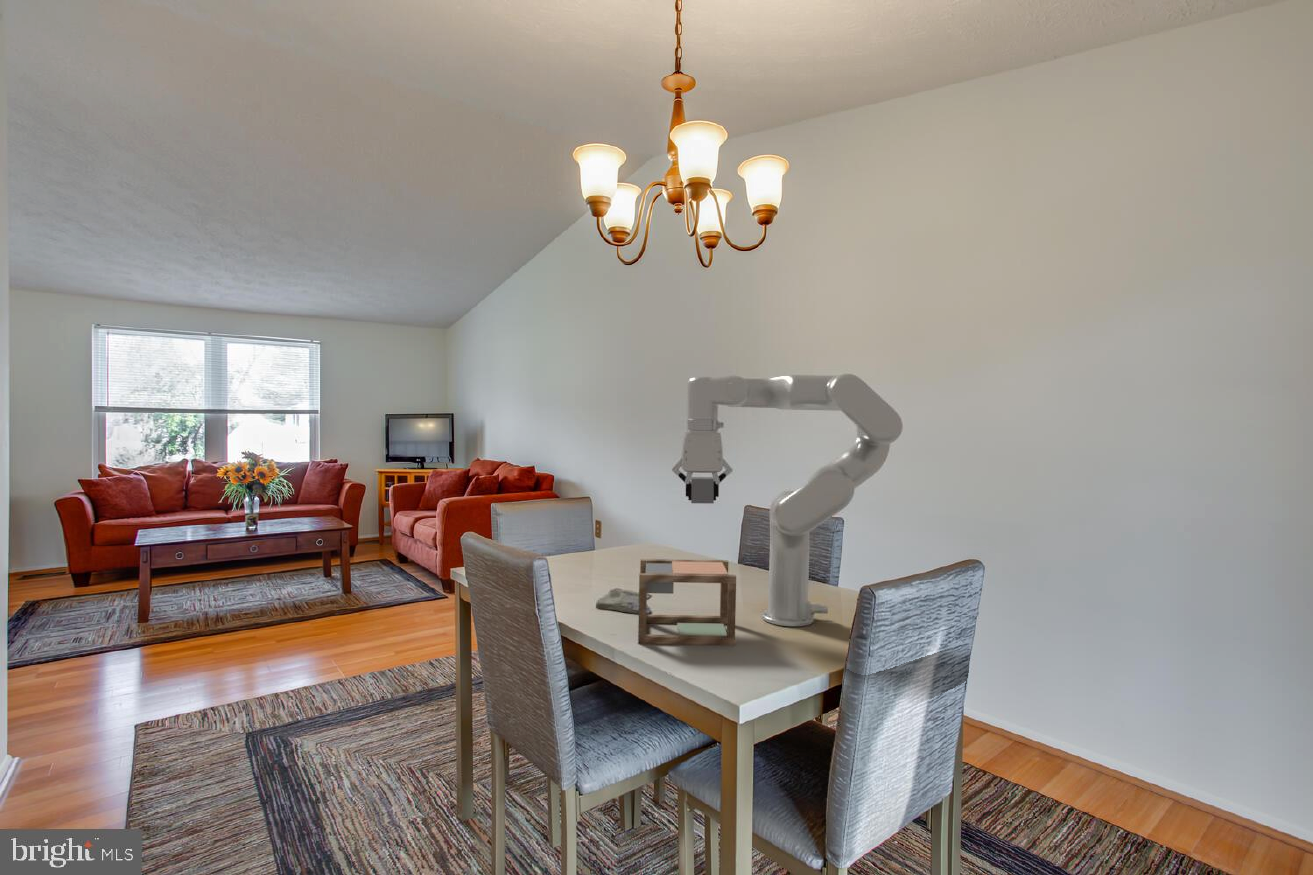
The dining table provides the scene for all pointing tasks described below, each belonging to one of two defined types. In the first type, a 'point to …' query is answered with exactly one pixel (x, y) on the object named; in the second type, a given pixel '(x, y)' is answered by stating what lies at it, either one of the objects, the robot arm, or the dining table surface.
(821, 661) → the dining table surface
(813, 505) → the robot arm
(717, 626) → the mat
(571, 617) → the dining table surface
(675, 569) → the trapdoor
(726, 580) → the stand
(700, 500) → the grey block
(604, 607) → the fossil rock
